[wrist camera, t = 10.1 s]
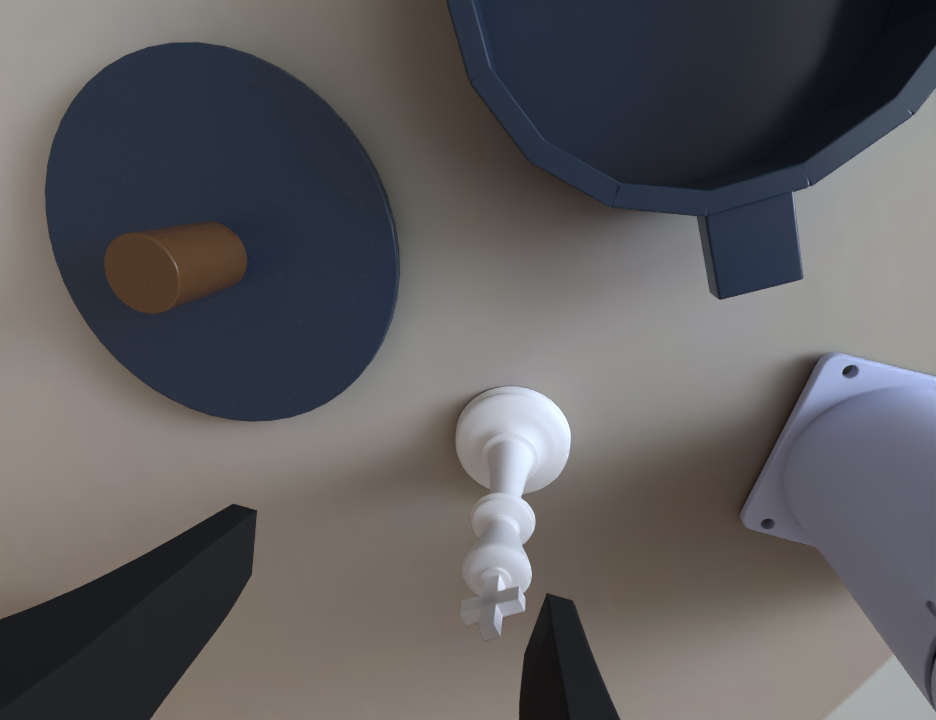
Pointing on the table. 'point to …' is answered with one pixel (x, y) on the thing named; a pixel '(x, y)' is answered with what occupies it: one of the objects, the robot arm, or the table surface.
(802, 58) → the pan
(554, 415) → the chess piece
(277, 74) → the pan lid
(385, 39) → the table surface
